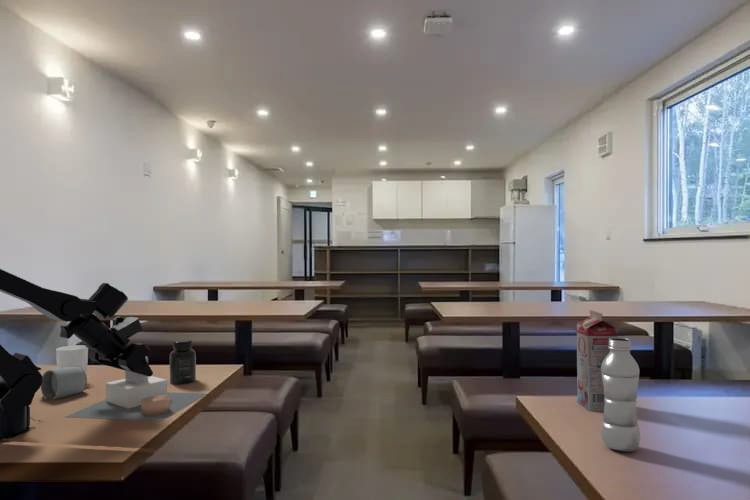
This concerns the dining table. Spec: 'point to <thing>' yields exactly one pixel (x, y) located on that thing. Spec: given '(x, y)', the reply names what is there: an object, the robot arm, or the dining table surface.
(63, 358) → the white cup
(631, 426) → the plastic bottle
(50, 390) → the ceramic mug
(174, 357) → the supplement bottle
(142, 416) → the mat
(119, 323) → the robot arm
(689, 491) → the dining table surface
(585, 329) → the juice carton
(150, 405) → the tan short cylinder
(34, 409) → the dining table surface
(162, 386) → the cover
